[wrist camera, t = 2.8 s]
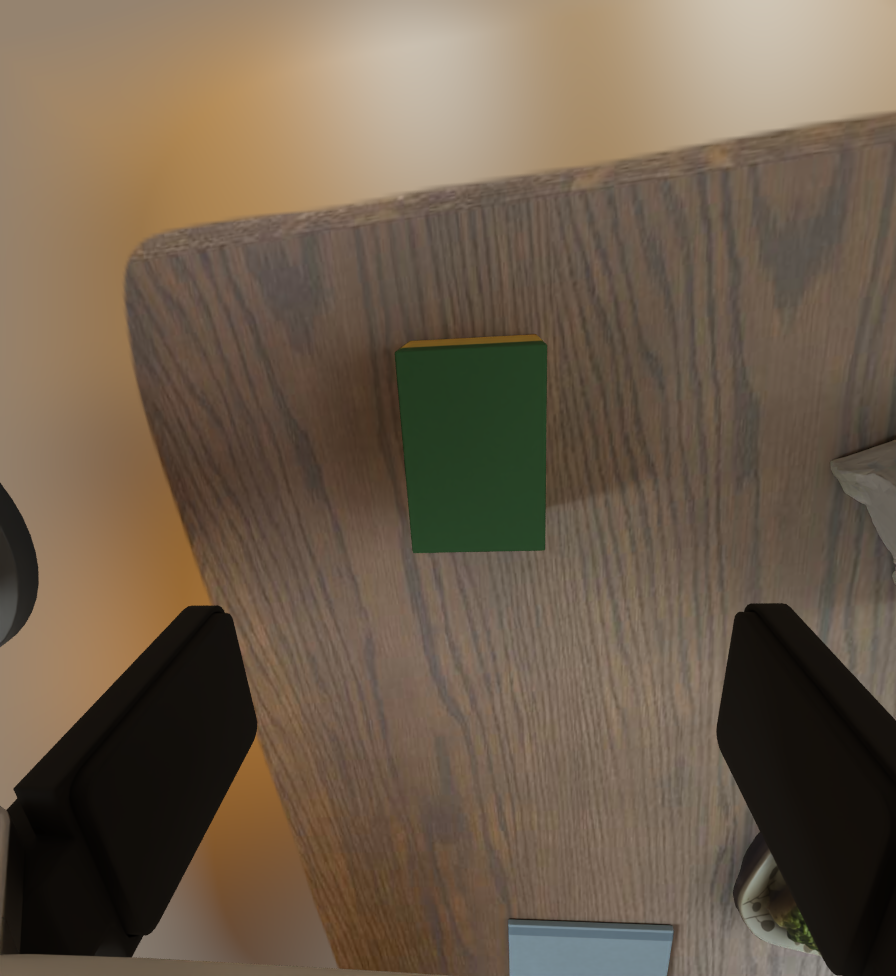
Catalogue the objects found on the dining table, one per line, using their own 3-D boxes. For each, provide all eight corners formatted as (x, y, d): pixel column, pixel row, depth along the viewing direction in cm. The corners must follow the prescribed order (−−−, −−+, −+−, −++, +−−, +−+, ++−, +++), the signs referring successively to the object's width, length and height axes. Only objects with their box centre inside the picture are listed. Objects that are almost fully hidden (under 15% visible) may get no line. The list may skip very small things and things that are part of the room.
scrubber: (536, 511, 28) (545, 551, 23) (423, 514, 28) (412, 553, 24) (536, 334, 24) (547, 343, 20) (409, 340, 25) (394, 351, 21)
